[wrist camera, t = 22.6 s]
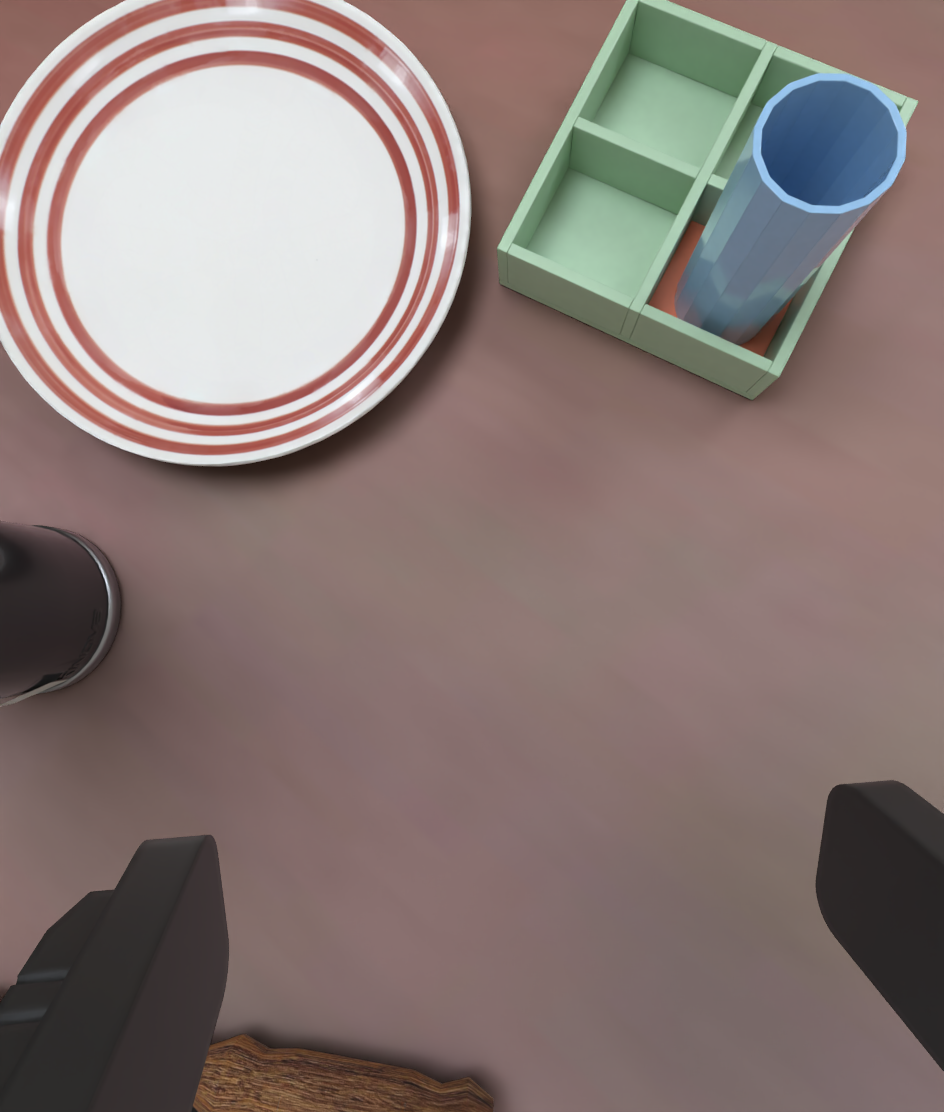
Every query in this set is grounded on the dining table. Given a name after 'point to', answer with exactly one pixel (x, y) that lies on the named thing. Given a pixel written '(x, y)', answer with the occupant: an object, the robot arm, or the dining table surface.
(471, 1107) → the meat cleaver
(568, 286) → the compartment tray
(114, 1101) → the robot arm
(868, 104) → the tumbler
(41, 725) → the dining table surface
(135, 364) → the dinner plate
